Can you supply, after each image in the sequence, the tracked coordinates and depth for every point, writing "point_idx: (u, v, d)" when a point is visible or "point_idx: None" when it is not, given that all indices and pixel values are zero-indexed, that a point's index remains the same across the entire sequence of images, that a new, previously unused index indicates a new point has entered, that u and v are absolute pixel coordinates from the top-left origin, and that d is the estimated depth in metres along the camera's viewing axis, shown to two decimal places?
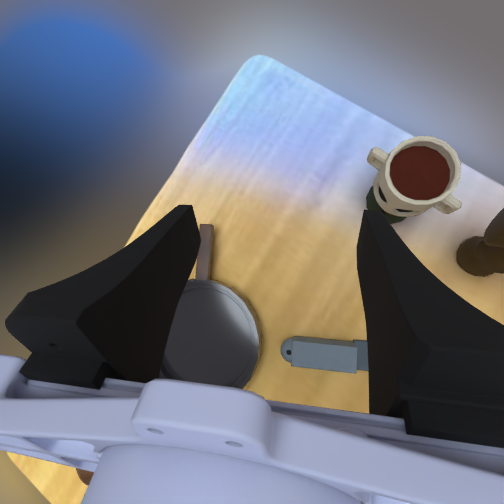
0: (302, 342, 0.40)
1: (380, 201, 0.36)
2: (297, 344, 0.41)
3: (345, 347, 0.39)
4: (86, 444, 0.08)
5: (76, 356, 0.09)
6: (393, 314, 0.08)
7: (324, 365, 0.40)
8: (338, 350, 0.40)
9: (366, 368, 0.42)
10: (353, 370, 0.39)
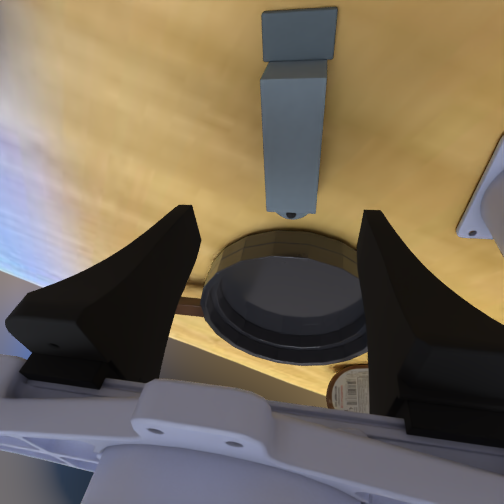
0: (267, 195, 0.20)
1: None
2: (272, 204, 0.20)
3: (264, 109, 0.16)
4: (86, 444, 0.08)
5: (76, 356, 0.09)
6: (393, 314, 0.08)
7: (310, 154, 0.18)
8: (273, 126, 0.17)
9: (330, 20, 0.16)
10: (318, 85, 0.15)
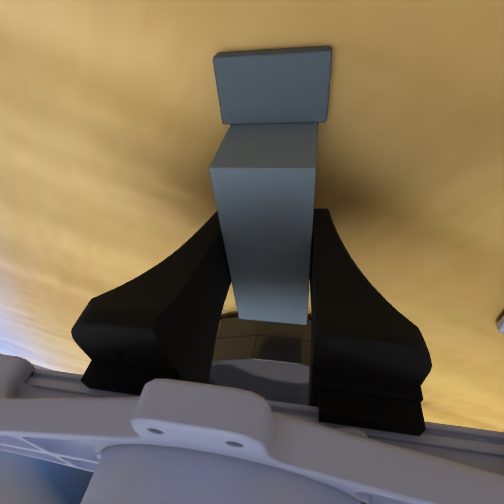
0: (237, 302, 0.14)
1: None
2: (245, 312, 0.15)
3: (220, 206, 0.10)
4: (86, 444, 0.08)
5: (141, 364, 0.08)
6: None
7: (295, 262, 0.12)
8: (237, 227, 0.11)
9: (321, 68, 0.10)
10: (303, 179, 0.09)
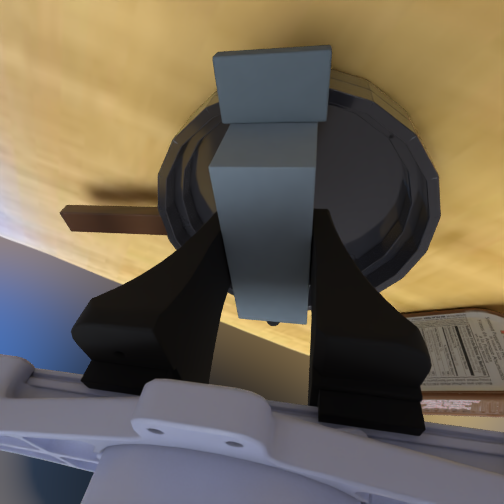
0: (237, 301, 0.14)
1: None
2: (245, 311, 0.15)
3: (220, 205, 0.10)
4: (86, 444, 0.08)
5: (141, 364, 0.08)
6: None
7: (295, 261, 0.12)
8: (237, 226, 0.11)
9: (321, 67, 0.10)
10: (303, 178, 0.09)
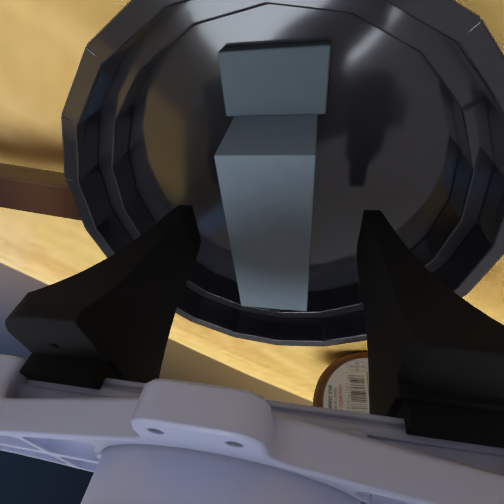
0: (240, 289, 0.15)
1: None
2: (247, 298, 0.15)
3: (225, 193, 0.11)
4: (86, 444, 0.08)
5: (76, 356, 0.09)
6: (393, 314, 0.08)
7: (295, 248, 0.12)
8: (241, 214, 0.12)
9: (320, 61, 0.10)
10: (303, 165, 0.10)
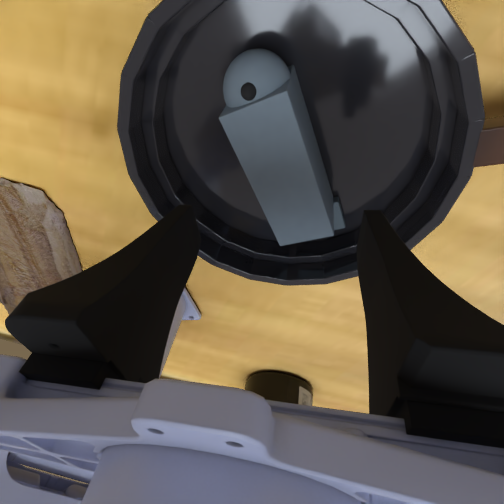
0: (294, 120, 0.13)
1: None
2: (282, 109, 0.13)
3: (324, 216, 0.17)
4: (86, 444, 0.08)
5: (76, 356, 0.09)
6: (393, 314, 0.08)
7: (264, 191, 0.16)
8: (311, 205, 0.16)
9: None
10: (283, 241, 0.18)
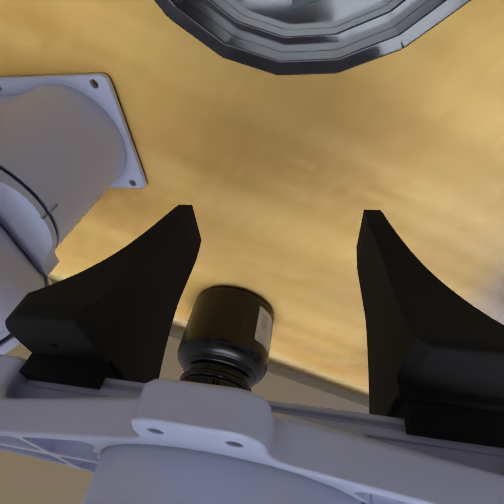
0: None
1: None
2: None
3: None
4: (86, 444, 0.08)
5: (76, 356, 0.09)
6: (393, 314, 0.08)
7: None
8: None
9: None
10: None
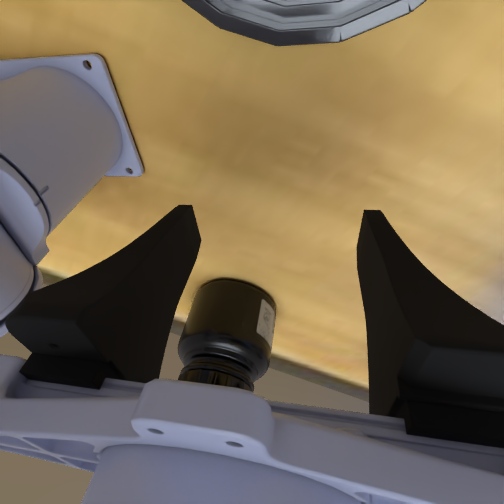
0: None
1: None
2: None
3: None
4: (86, 444, 0.08)
5: (76, 356, 0.09)
6: (393, 314, 0.08)
7: None
8: None
9: None
10: None
